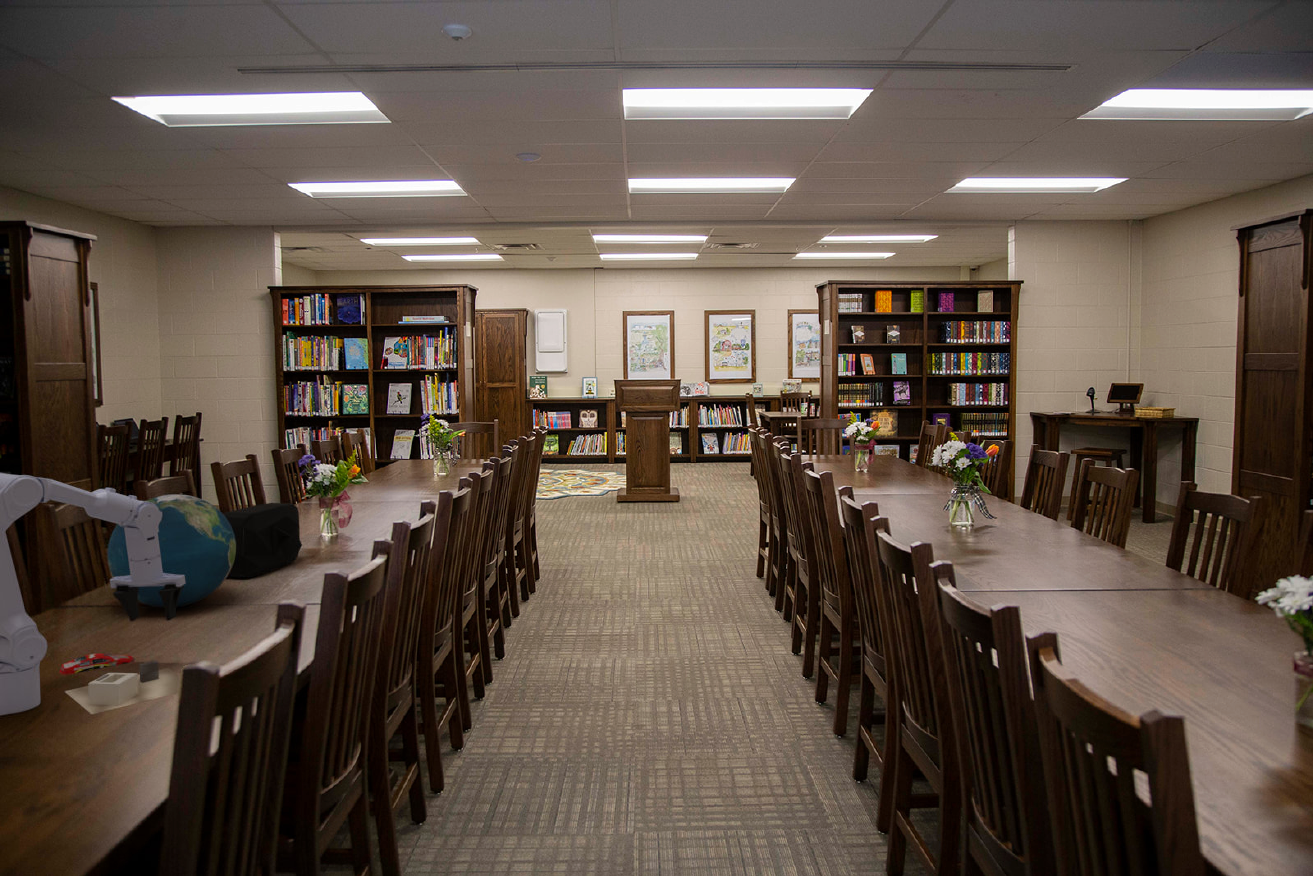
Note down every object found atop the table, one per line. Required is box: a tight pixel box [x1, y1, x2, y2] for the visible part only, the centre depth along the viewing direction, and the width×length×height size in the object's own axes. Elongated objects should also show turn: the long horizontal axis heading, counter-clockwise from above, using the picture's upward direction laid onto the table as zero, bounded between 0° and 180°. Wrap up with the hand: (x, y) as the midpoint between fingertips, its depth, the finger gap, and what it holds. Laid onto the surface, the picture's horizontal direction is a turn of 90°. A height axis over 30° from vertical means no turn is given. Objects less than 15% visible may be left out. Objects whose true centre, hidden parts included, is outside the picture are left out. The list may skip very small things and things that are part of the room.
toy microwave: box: [87, 672, 138, 705], centre depth 158 cm, size 6×6×4 cm
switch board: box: [64, 660, 182, 715], centre depth 163 cm, size 18×16×5 cm
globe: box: [107, 493, 236, 608], centre depth 225 cm, size 30×30×30 cm
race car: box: [59, 652, 136, 675], centre depth 176 cm, size 13×5×4 cm, turn 134°
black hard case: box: [222, 502, 303, 579], centre depth 267 cm, size 30×12×20 cm, turn 171°
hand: (152, 619), depth 177 cm, fingers open, 7 cm apart
